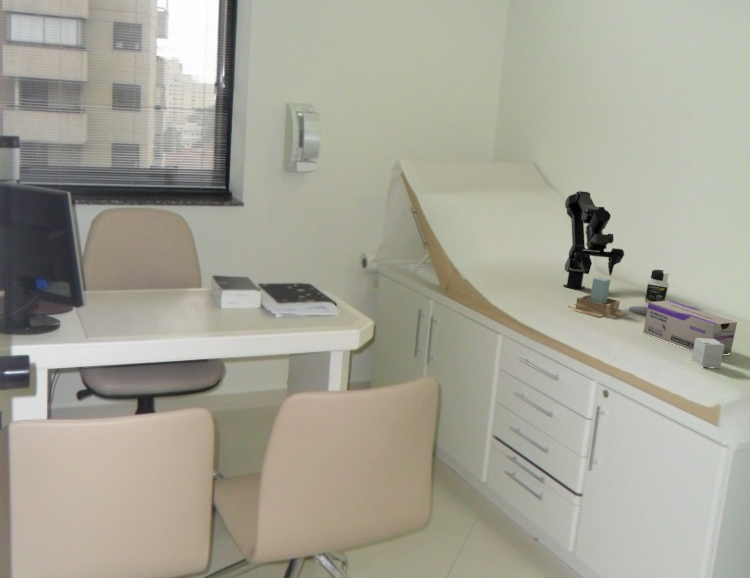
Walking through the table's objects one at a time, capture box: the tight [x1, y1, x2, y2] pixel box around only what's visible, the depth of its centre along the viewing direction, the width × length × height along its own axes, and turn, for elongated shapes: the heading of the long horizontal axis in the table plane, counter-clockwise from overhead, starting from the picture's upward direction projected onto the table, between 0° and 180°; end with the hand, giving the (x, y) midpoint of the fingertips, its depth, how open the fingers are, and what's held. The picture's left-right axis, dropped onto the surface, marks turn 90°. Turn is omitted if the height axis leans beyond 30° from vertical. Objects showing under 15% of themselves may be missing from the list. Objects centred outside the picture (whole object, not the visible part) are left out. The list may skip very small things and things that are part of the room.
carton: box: [568, 293, 626, 320], centre depth 291 cm, size 17×17×4 cm
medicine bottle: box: [644, 269, 670, 303], centre depth 313 cm, size 7×7×12 cm
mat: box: [628, 305, 648, 316], centre depth 296 cm, size 10×10×1 cm
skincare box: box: [690, 338, 725, 369], centre depth 240 cm, size 6×6×7 cm
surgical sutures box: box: [642, 300, 738, 354], centre depth 260 cm, size 25×11×11 cm, turn 31°
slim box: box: [590, 276, 611, 305], centre depth 290 cm, size 4×4×12 cm
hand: (597, 273), depth 295 cm, fingers open, 9 cm apart
